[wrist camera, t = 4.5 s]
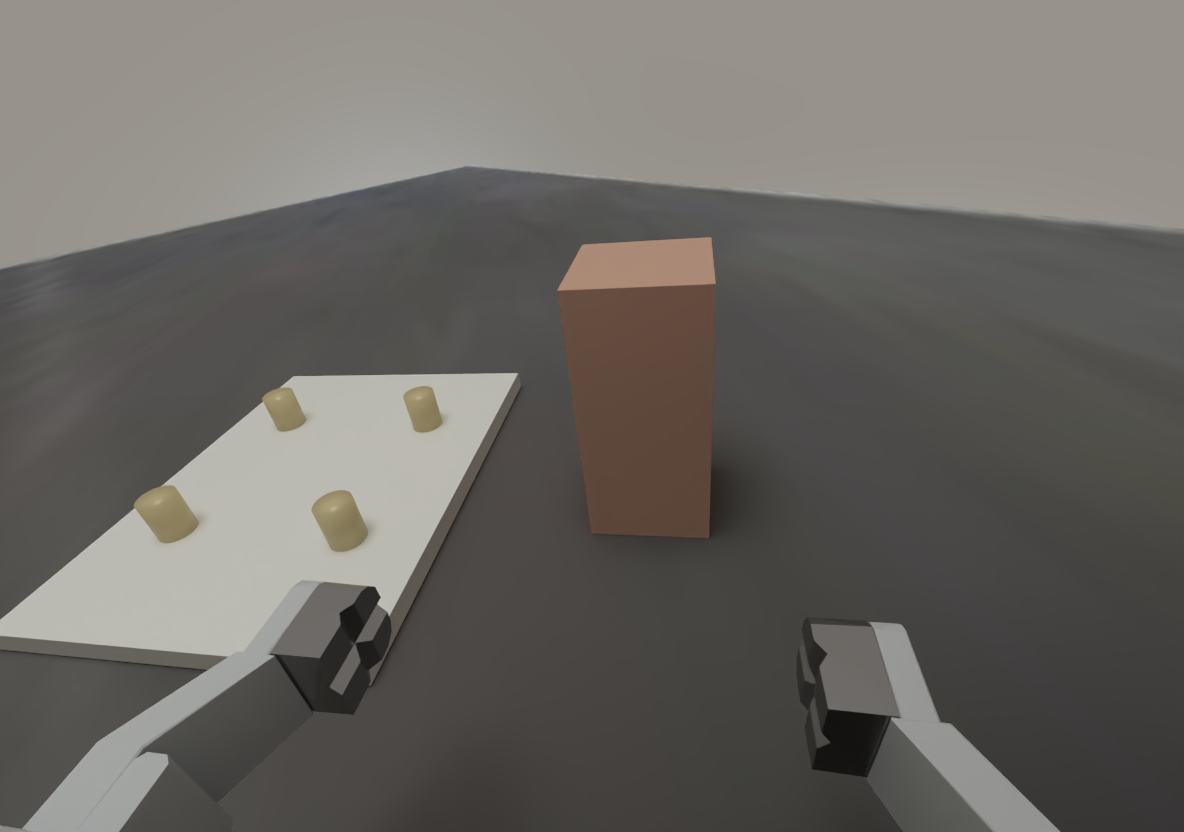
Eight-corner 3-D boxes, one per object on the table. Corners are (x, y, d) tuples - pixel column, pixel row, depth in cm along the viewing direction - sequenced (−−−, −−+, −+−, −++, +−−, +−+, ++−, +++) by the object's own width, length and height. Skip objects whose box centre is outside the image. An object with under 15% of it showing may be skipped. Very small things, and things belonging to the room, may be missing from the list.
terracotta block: (706, 463, 27) (710, 237, 21) (709, 538, 23) (715, 284, 17) (606, 461, 28) (582, 244, 22) (591, 533, 24) (557, 290, 18)
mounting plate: (520, 386, 35) (512, 344, 33) (370, 685, 19) (340, 631, 17) (299, 389, 38) (281, 350, 36) (1, 649, 22) (-56, 600, 20)
